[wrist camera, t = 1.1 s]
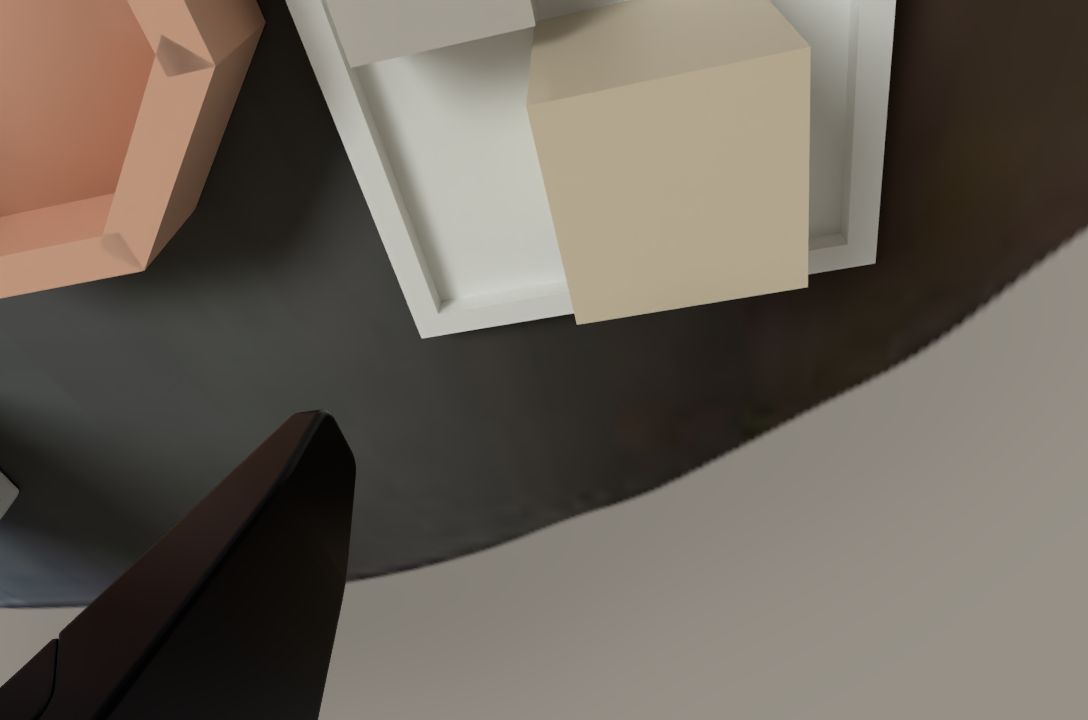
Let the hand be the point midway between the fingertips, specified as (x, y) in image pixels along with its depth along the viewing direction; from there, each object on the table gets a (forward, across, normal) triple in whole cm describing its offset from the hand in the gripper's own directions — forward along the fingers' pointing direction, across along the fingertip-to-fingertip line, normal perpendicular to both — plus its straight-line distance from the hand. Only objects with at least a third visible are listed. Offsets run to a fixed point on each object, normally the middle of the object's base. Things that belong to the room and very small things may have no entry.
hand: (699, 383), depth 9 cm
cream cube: (+10, 0, 0) cm, 10 cm away
